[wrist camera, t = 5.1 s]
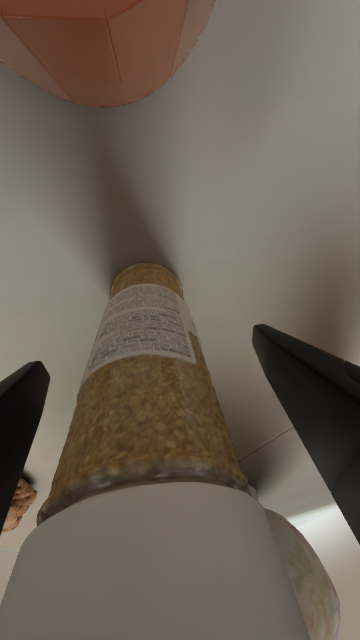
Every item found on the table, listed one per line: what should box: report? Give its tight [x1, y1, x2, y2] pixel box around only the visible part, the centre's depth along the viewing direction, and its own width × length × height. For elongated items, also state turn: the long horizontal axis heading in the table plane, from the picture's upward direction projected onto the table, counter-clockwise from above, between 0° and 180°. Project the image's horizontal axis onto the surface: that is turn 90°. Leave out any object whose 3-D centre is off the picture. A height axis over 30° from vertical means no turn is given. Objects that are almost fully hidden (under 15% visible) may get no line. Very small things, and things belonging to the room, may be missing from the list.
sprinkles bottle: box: [0, 263, 311, 640], centre depth 9 cm, size 5×5×14 cm
